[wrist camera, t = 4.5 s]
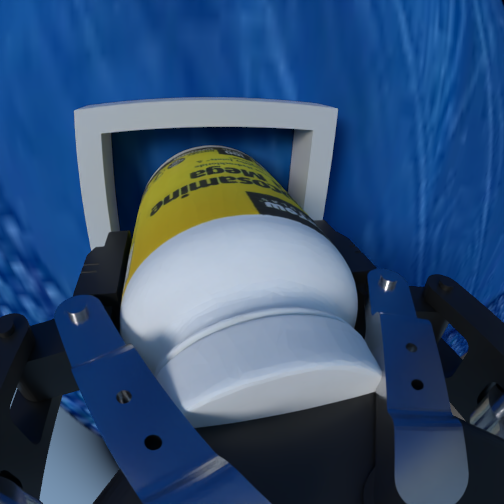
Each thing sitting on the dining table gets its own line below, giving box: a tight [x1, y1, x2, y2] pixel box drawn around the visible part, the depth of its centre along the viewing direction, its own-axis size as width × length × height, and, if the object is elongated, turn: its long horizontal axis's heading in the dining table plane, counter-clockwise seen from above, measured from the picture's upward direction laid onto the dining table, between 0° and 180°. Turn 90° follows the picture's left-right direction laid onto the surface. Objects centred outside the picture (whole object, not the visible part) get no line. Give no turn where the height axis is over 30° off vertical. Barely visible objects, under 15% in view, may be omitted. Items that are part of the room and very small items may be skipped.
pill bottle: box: [120, 145, 382, 428], centre depth 10 cm, size 6×6×11 cm
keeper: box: [74, 97, 338, 251], centre depth 14 cm, size 10×10×2 cm
